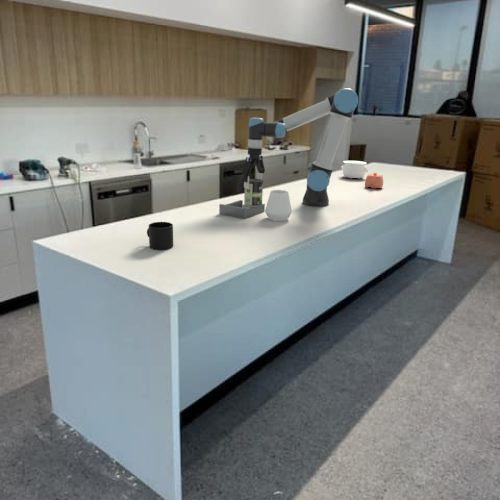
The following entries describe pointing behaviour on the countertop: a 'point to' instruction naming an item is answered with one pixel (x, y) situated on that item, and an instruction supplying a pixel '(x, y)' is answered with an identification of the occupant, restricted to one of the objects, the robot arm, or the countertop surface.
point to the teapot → (374, 181)
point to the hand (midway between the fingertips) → (252, 186)
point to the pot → (354, 169)
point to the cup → (278, 205)
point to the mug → (160, 235)
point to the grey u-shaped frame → (240, 210)
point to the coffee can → (253, 193)
